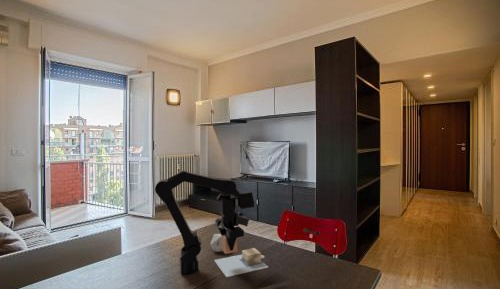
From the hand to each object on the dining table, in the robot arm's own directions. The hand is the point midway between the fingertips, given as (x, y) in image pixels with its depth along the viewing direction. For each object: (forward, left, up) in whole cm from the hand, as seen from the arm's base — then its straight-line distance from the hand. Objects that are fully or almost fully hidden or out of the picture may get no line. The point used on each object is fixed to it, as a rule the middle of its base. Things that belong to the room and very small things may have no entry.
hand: (229, 247), depth 108 cm
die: (+2, +18, -9) cm, 20 cm away
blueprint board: (+5, 0, -8) cm, 10 cm away
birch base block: (+10, 0, -7) cm, 12 cm away
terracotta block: (0, 0, -1) cm, 1 cm away
